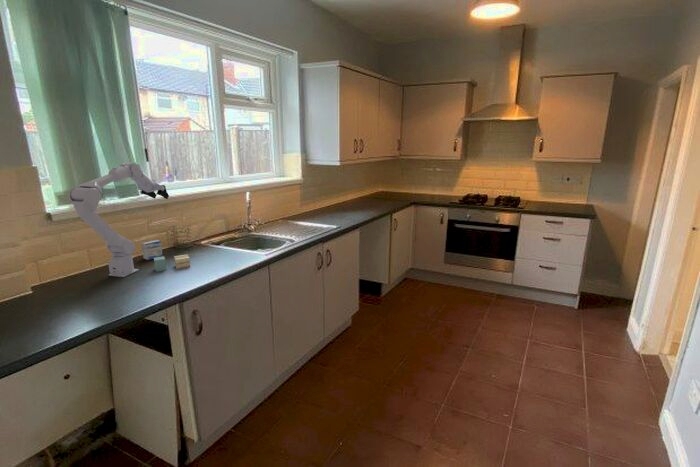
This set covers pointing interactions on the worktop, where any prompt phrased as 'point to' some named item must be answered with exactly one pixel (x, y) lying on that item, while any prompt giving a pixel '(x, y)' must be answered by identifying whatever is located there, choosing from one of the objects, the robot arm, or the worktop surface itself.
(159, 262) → the teal block
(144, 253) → the medicine box
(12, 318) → the worktop surface
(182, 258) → the upper slab
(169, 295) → the worktop surface
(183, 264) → the lower slab
